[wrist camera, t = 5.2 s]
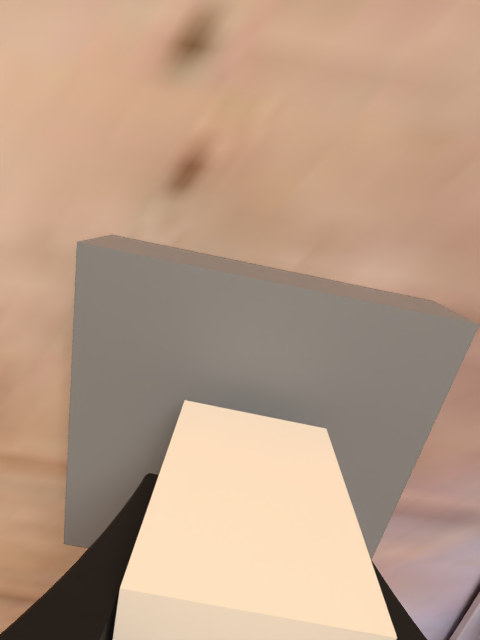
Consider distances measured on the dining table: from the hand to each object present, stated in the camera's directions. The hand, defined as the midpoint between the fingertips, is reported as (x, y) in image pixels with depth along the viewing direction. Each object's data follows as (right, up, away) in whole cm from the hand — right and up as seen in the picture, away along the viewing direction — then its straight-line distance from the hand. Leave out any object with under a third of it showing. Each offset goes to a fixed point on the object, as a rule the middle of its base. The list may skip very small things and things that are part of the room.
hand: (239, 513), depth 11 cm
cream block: (0, +1, +2) cm, 2 cm away
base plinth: (0, +2, +6) cm, 6 cm away
